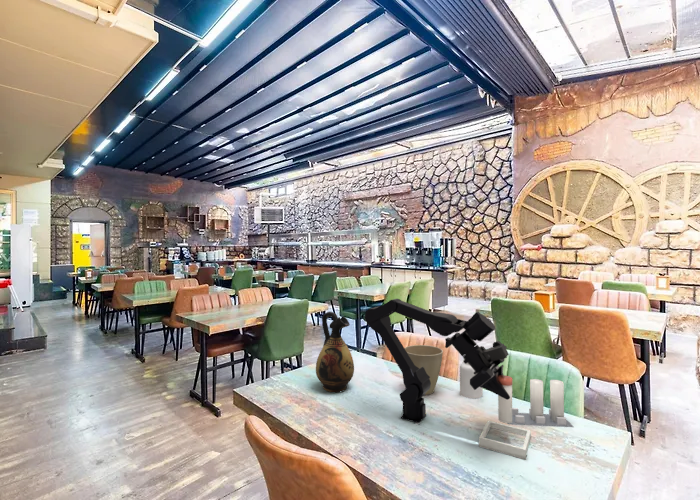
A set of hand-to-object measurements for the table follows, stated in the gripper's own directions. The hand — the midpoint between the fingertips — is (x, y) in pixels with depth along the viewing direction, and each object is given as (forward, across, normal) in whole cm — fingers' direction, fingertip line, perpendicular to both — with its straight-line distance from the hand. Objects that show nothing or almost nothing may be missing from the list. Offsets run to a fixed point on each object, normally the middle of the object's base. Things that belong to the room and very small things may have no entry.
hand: (510, 396), depth 98 cm
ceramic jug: (-37, +6, +57) cm, 68 cm away
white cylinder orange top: (+4, 0, +6) cm, 7 cm away
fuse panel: (+12, +17, +6) cm, 22 cm away
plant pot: (-15, +22, +34) cm, 43 cm away
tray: (+8, 0, +10) cm, 13 cm away
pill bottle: (-3, +26, +22) cm, 35 cm away
